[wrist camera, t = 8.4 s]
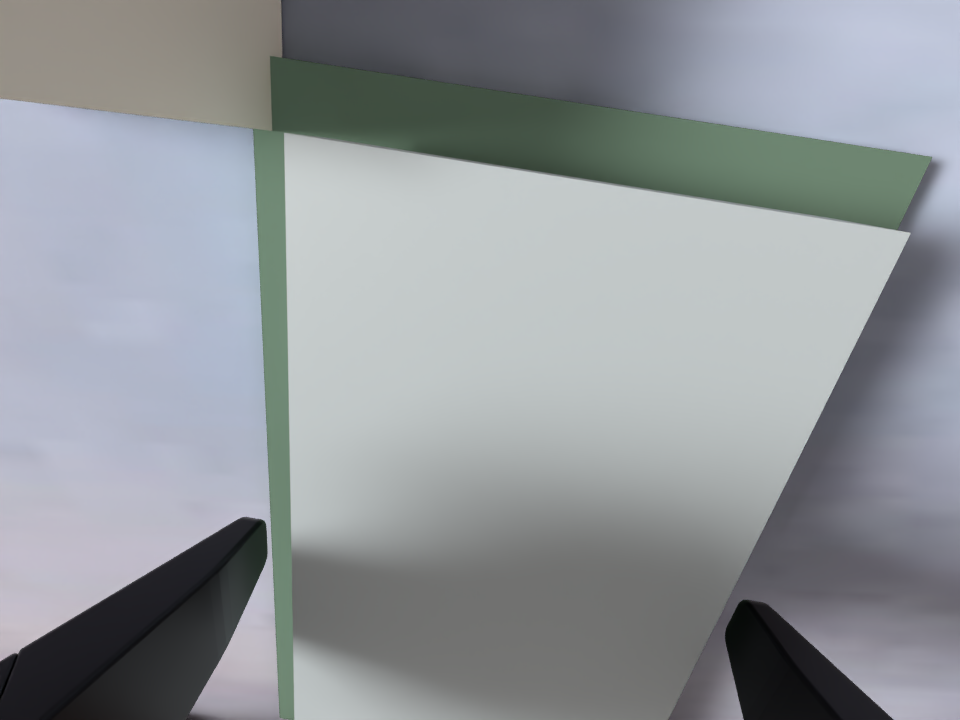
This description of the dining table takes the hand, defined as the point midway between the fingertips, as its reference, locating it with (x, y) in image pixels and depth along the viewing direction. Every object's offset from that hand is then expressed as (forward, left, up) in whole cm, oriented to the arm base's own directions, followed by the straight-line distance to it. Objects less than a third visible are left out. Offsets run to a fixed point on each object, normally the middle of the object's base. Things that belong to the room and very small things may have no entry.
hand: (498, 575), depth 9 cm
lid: (0, 0, 0) cm, 0 cm away
